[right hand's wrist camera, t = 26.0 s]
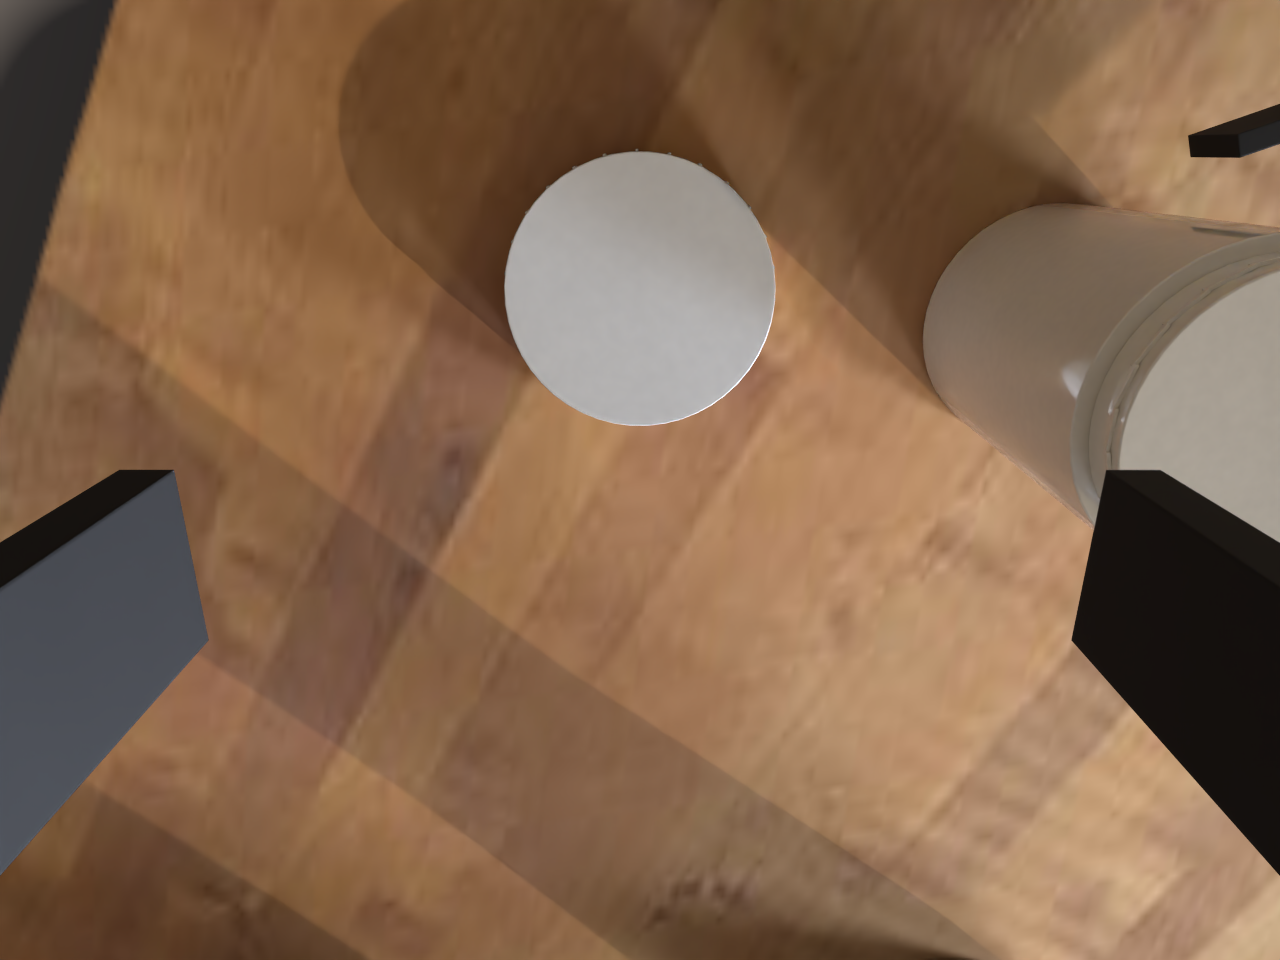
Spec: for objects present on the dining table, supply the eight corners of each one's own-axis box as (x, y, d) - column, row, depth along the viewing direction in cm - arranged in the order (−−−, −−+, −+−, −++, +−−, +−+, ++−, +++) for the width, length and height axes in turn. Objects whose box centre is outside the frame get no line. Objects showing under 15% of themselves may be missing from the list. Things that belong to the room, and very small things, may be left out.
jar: (937, 202, 36) (1141, 236, 21) (1186, 203, 36) (1561, 237, 21) (909, 439, 39) (1068, 607, 25) (1135, 439, 39) (1425, 607, 25)
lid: (716, 446, 40) (719, 460, 38) (479, 369, 38) (471, 380, 36) (811, 204, 36) (820, 207, 34) (552, 109, 35) (547, 107, 33)
